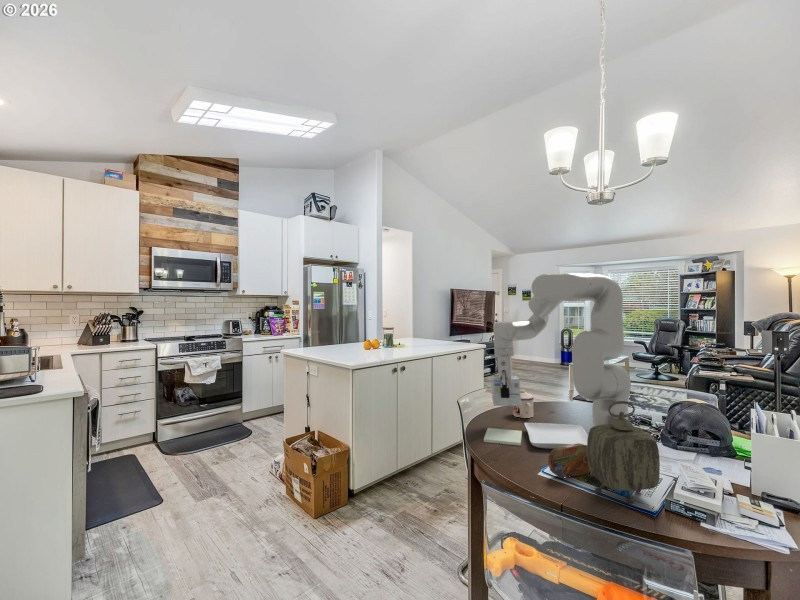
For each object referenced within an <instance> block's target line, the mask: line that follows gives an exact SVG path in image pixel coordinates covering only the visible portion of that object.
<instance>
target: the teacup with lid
mask: <svg viewBox="0 0 800 600" xmlns="http://www.w3.org/2000/svg"><path fill="white" fill-rule="evenodd" d="M520 395H521V405H520V406H512V416H513V415H514V416H516V417H521V418H530V417H533V418H534V396H533V395H532V394H530V393H528V392H526V391H525V389H520ZM514 416H513V417H514ZM516 417H515V418H516ZM530 419H531V418H530Z"/></svg>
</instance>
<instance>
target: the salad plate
mask: <svg viewBox="0 0 800 600" xmlns="http://www.w3.org/2000/svg"><path fill="white" fill-rule="evenodd" d="M523 425H524V427H525V429H526V431H527V434H528V438H529V443H530V444H531V445H532V446H533V447H534V448H539V449H540V448H541V449H550V450H551V449H552V450H553V449H554V448H557V447H561V446H567V445H572V444H578V443H579V444H583V445H587V439H588V432H586V430H585V429H584V428H583V426H581V425H579V424H578V425H577V424H567V423H566V424H564V423H563V424H562V423H551V422H550V423H547V422H524V424H523Z"/></svg>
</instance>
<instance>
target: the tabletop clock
mask: <svg viewBox="0 0 800 600" xmlns="http://www.w3.org/2000/svg"><path fill="white" fill-rule="evenodd" d="M616 404H628V406H630V407H631V408H632V412H630V413H629V412H628V414H626V415H624V413H623V412H620V413H619V415H615V414H612V413H611V412H610V409H611V407H612V406H614V405H616ZM635 411H636V408H635V405H634V404H632V403H631V402H630V401H629V402H627V401H617V402H614V403H612V404H611V405H610V406H609V408H608V412H609V414H610V415H612V416H614V417H617V418H616V419H614V420H613V421H612V424H605V425H597V426H594V427H593V426H592V427H590V428H589V430H588V432H587V434H588V439H587V458H588V465H589V469H590V472H589V473H590V474H591V475H592V476H593V477H594V478H595V479H597V480H598V481H599V482H600V483H601V484H600V487H595V489H594V491H595V493H596V494H598V495H601V494H602V493H603V488H604V487H606V488H607V489H610V490H614V491H626V494H627V496H626V498H625V500H626V502H627V503H629V504H633V503H634V501H635V500H634V498H633V497H632V496H631V491H635V492H637V493H641V492H642V490H643V491H644V490H651V489H654V488H657V487H658V485H659V482H660V468H661V467H660V465H661V463H660V462H661V461H660V453H659V452H660V451H659V450H660V449H659V447H658V443H657V441H656V438H655V437H654V435H652V434H650V433H648V432H645V431H644V430H643V429H639V428H638V427H635V426H634V425H633V423H632V422H631V421H630V420H629V419H628V420H627V419H624V418H625V417H628V418H629V417H631V416H632V415H634V414H635Z"/></svg>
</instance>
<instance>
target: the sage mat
mask: <svg viewBox="0 0 800 600" xmlns="http://www.w3.org/2000/svg"><path fill="white" fill-rule="evenodd" d="M522 436H523V431H522V430H514V429H505V428H496V427H495V428H494V427H487V429H486V432H485V433H484V437H483V443H490V444H499V443H500V444H501V445H509V446H510V445H511V446H512V445H513V446H521V445H522V438H523V437H522ZM500 444H499V445H500Z"/></svg>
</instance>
